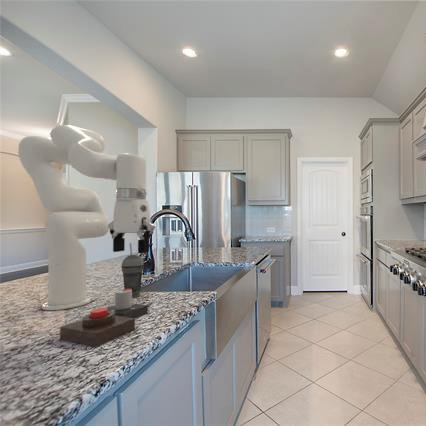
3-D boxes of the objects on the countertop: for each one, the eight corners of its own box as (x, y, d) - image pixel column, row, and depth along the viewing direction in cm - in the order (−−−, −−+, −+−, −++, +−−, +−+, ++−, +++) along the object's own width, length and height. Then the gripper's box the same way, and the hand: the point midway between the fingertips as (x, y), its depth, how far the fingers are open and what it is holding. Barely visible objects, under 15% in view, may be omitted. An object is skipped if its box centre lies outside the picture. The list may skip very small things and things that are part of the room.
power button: (86, 318, 71) (86, 311, 71) (101, 313, 74) (101, 307, 74) (96, 320, 70) (96, 313, 70) (111, 315, 73) (111, 308, 73)
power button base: (59, 340, 69) (60, 319, 69) (102, 324, 79) (102, 306, 79) (95, 347, 66) (95, 325, 66) (134, 330, 75) (134, 311, 75)
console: (97, 318, 83) (97, 309, 83) (124, 309, 91) (124, 301, 91) (122, 322, 80) (122, 313, 80) (148, 312, 88) (148, 304, 88)
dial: (122, 310, 83) (122, 292, 83) (111, 308, 84) (111, 291, 84) (135, 305, 87) (135, 288, 87) (125, 304, 88) (125, 287, 88)
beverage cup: (132, 299, 101) (133, 244, 101) (115, 298, 103) (116, 243, 103) (148, 294, 108) (149, 242, 109) (132, 293, 110) (133, 241, 110)
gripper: (164, 195, 86) (163, 251, 86) (121, 196, 91) (121, 249, 91) (142, 194, 79) (142, 255, 79) (97, 195, 84) (97, 252, 84)
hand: (131, 252), depth 85 cm, fingers open, 9 cm apart
